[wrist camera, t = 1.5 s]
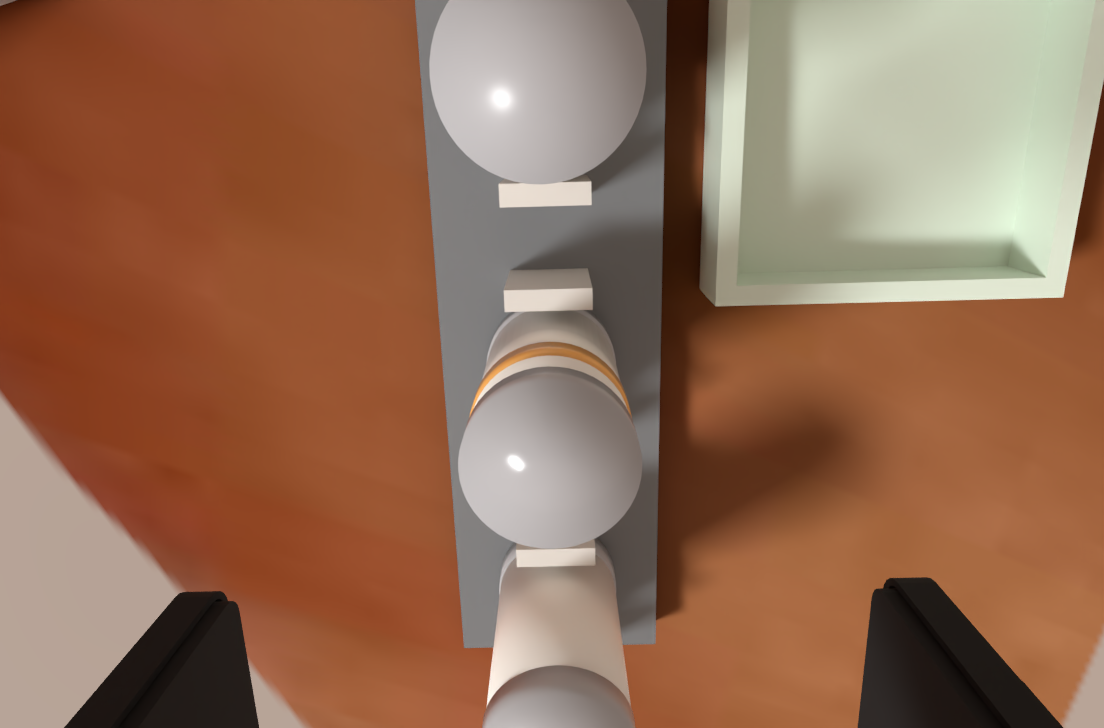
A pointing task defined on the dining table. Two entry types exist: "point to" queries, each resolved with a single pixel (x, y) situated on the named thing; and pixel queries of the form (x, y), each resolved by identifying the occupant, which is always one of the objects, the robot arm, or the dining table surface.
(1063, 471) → the dining table surface
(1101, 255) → the dining table surface
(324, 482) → the dining table surface
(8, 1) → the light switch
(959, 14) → the tray
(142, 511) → the dining table surface
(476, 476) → the cylinder
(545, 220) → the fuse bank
